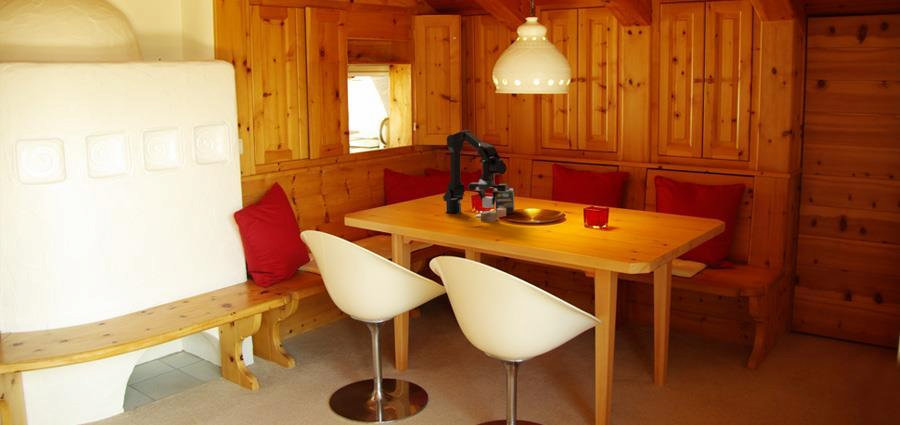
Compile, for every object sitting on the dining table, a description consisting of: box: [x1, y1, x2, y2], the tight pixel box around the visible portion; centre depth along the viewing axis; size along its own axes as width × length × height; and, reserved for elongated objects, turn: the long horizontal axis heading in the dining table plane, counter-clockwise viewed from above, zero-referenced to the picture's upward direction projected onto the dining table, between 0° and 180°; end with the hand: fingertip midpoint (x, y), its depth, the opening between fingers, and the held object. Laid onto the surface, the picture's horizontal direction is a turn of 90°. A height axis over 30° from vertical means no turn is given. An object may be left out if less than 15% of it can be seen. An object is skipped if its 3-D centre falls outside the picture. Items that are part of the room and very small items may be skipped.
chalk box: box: [495, 183, 515, 213], centre depth 439 cm, size 9×9×15 cm
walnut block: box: [480, 210, 498, 223], centre depth 421 cm, size 6×6×4 cm
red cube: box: [497, 208, 507, 218], centre depth 429 cm, size 4×4×4 cm
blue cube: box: [481, 196, 496, 209], centre depth 420 cm, size 4×4×4 cm
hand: (488, 204), depth 420 cm, fingers closed on blue cube, 4 cm apart
